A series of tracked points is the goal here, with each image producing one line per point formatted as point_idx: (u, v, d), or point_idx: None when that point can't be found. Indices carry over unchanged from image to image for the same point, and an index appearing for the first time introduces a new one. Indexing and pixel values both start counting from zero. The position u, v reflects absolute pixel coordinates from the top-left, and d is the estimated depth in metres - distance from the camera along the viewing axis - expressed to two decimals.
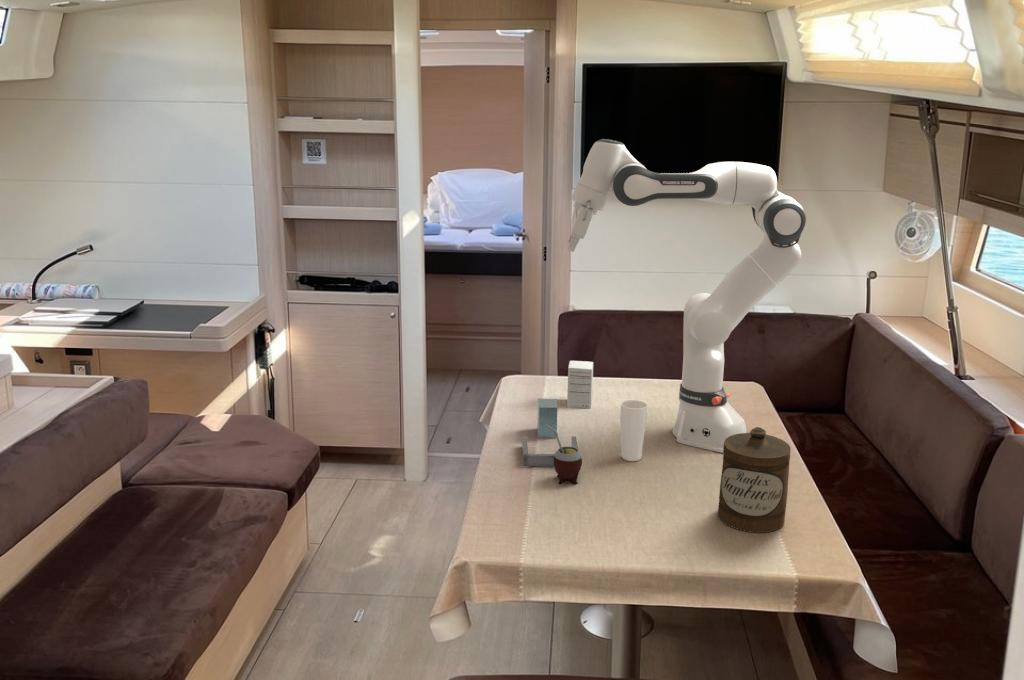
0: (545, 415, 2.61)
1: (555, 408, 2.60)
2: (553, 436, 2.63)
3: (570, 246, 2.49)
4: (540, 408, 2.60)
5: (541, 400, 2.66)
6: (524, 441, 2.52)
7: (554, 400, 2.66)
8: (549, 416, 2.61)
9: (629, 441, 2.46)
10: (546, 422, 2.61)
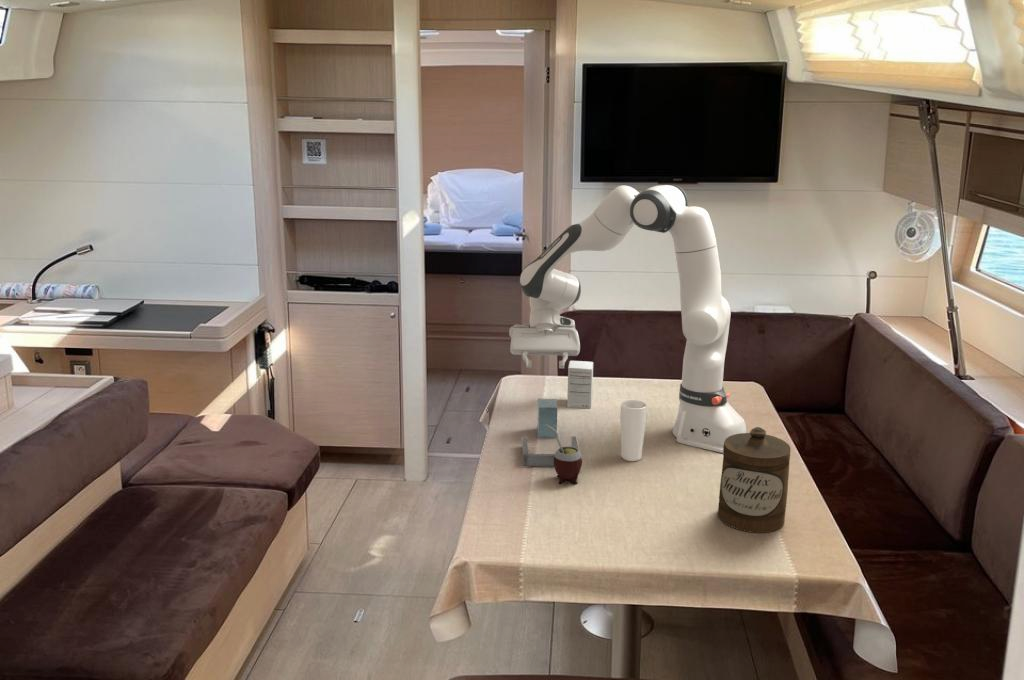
0: (545, 415, 2.61)
1: (555, 408, 2.60)
2: (553, 436, 2.63)
3: None
4: (540, 408, 2.60)
5: (541, 400, 2.66)
6: (524, 441, 2.52)
7: (554, 400, 2.66)
8: (549, 416, 2.61)
9: (629, 441, 2.46)
10: (546, 422, 2.61)
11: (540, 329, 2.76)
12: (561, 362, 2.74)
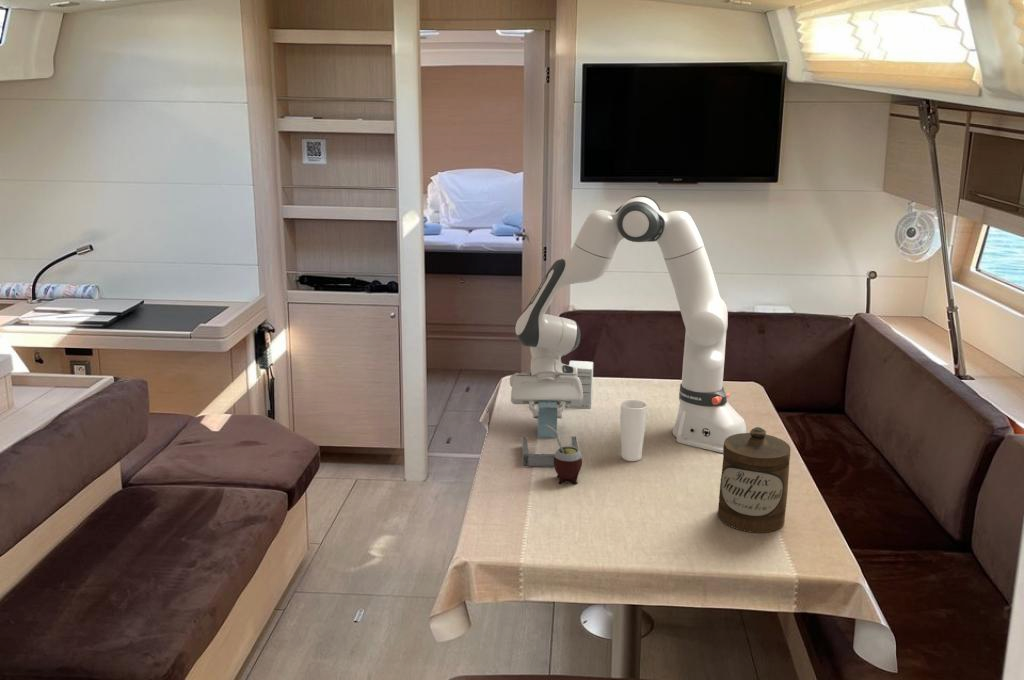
0: (545, 415, 2.61)
1: (555, 408, 2.60)
2: (553, 436, 2.63)
3: None
4: (540, 408, 2.60)
5: None
6: (524, 441, 2.52)
7: None
8: (549, 416, 2.61)
9: (629, 441, 2.46)
10: (546, 422, 2.61)
11: (541, 378, 2.67)
12: (558, 412, 2.64)
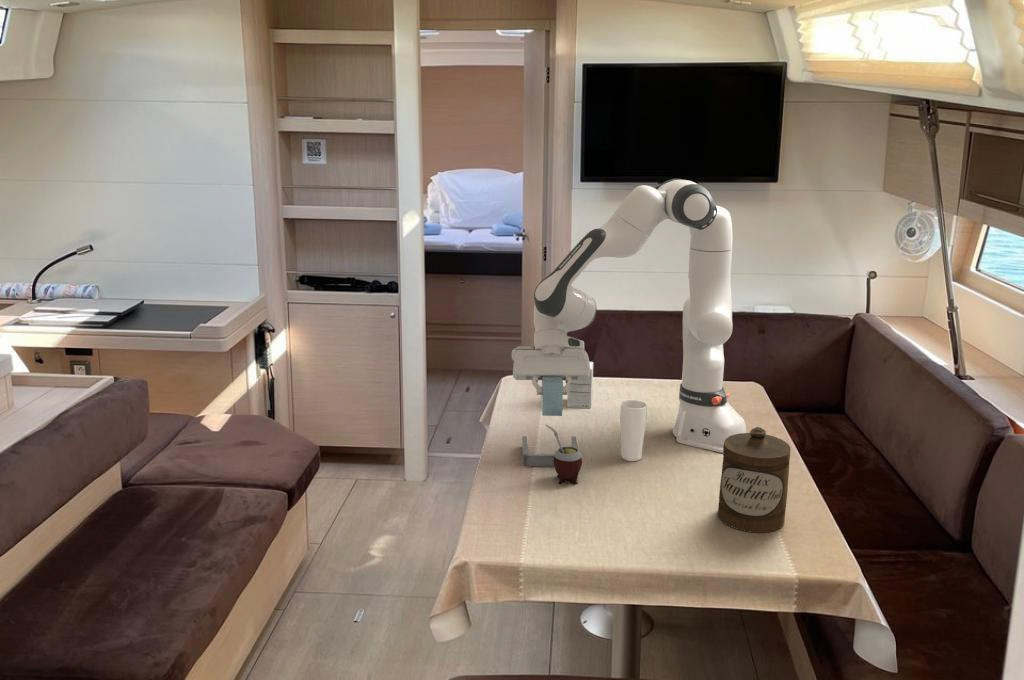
0: (550, 391, 2.43)
1: (560, 383, 2.42)
2: (558, 413, 2.44)
3: None
4: (544, 383, 2.42)
5: None
6: (524, 441, 2.52)
7: None
8: (554, 392, 2.43)
9: (629, 441, 2.46)
10: (551, 398, 2.43)
11: (546, 351, 2.49)
12: (564, 388, 2.46)
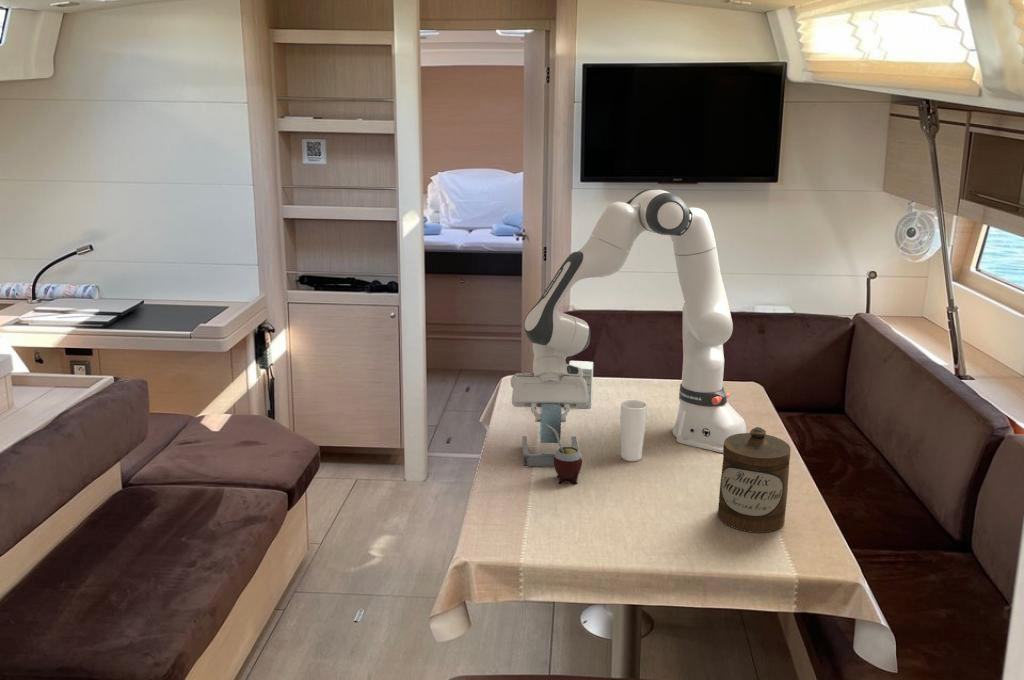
0: (548, 418, 2.45)
1: (559, 411, 2.44)
2: (556, 441, 2.46)
3: None
4: (543, 411, 2.44)
5: None
6: (524, 441, 2.52)
7: None
8: (552, 419, 2.45)
9: (629, 441, 2.46)
10: None
11: (545, 379, 2.51)
12: (562, 415, 2.48)
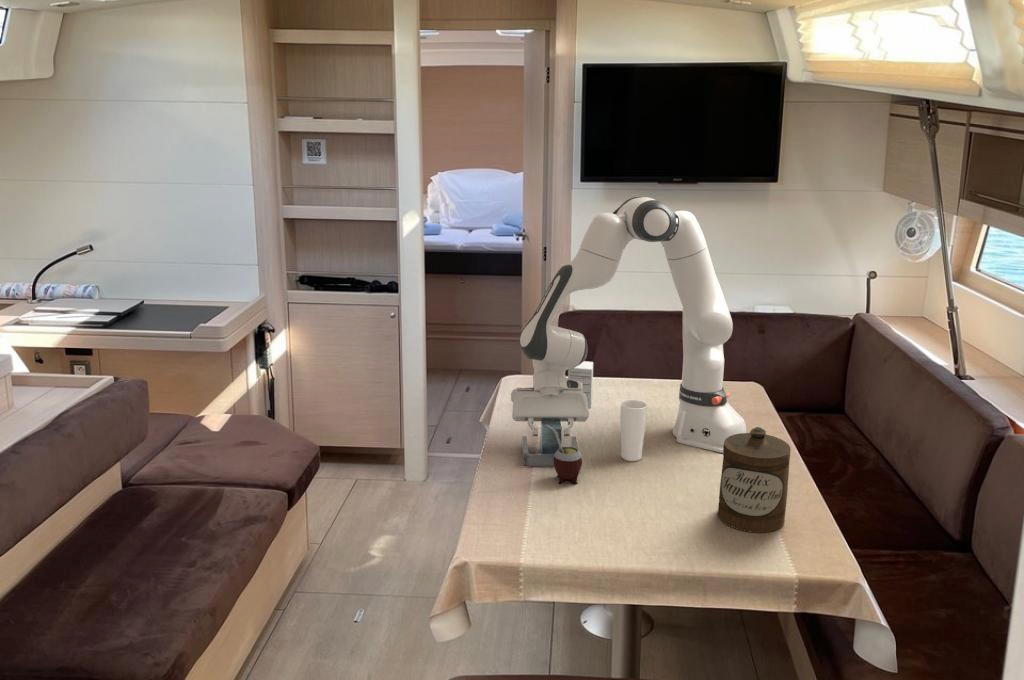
0: (549, 436, 2.46)
1: (559, 429, 2.45)
2: None
3: None
4: (543, 429, 2.45)
5: (544, 420, 2.51)
6: (524, 441, 2.52)
7: (558, 420, 2.51)
8: (553, 438, 2.46)
9: (629, 441, 2.46)
10: (550, 444, 2.47)
11: (545, 393, 2.52)
12: (566, 430, 2.49)
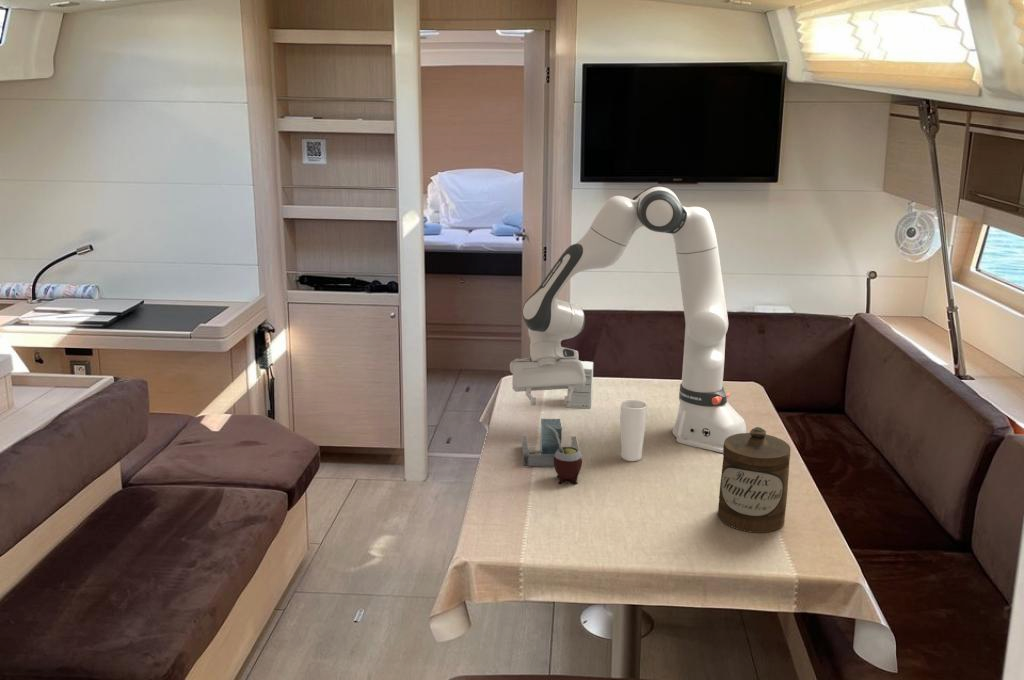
0: (549, 436, 2.46)
1: (559, 429, 2.45)
2: None
3: (530, 401, 2.60)
4: (543, 429, 2.45)
5: (544, 420, 2.51)
6: (524, 441, 2.52)
7: (558, 420, 2.51)
8: (553, 438, 2.46)
9: (629, 441, 2.46)
10: (550, 444, 2.46)
11: (542, 363, 2.62)
12: (567, 397, 2.60)
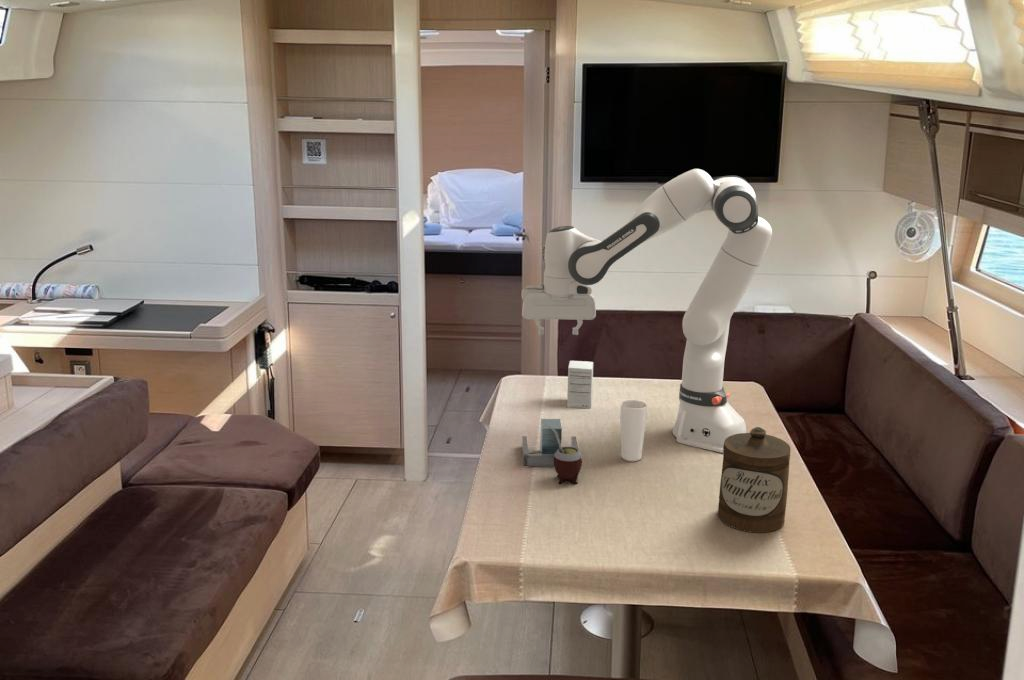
0: (549, 436, 2.46)
1: (559, 429, 2.45)
2: None
3: None
4: (543, 429, 2.45)
5: (544, 420, 2.51)
6: (524, 441, 2.52)
7: (558, 420, 2.51)
8: (553, 438, 2.46)
9: (629, 441, 2.46)
10: (550, 444, 2.47)
11: (554, 298, 2.58)
12: (575, 331, 2.63)
